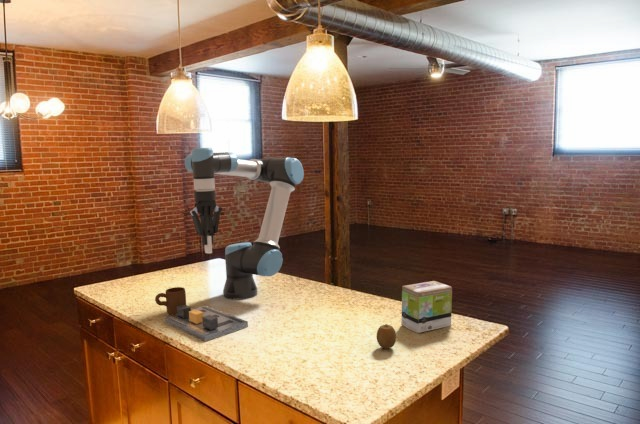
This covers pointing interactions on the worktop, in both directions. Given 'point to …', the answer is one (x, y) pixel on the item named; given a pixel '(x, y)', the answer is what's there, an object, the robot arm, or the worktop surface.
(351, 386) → the worktop surface
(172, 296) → the mug
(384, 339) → the fruit
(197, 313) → the tall orange block
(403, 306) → the tea box
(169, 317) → the panel
